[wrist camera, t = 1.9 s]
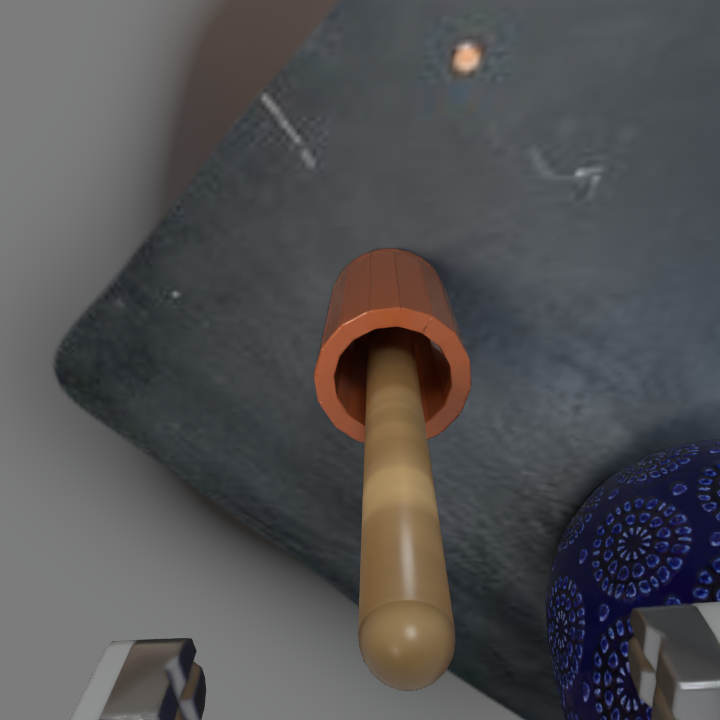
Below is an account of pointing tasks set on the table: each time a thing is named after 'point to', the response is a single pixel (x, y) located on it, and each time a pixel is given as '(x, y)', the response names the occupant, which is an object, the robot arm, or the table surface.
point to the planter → (630, 572)
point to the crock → (382, 310)
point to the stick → (400, 527)
